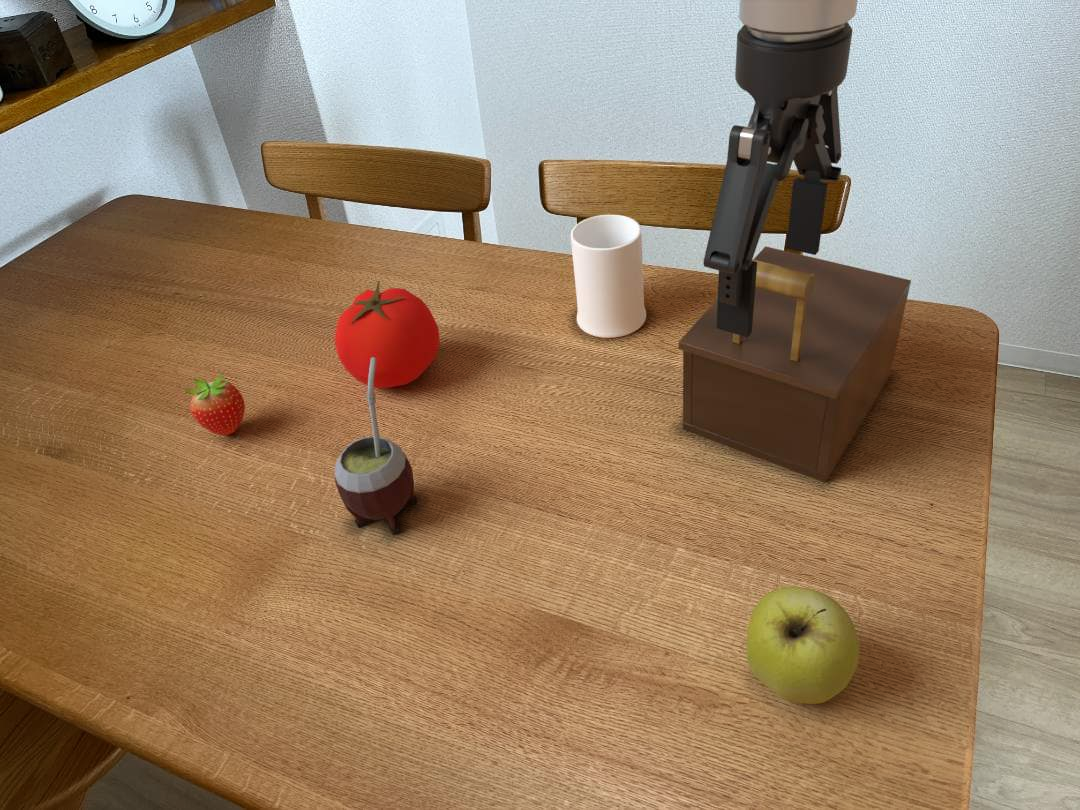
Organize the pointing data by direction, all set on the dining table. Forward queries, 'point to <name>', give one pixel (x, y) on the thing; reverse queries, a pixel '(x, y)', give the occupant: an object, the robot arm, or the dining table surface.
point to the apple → (802, 645)
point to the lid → (804, 322)
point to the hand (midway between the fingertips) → (770, 288)
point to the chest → (785, 407)
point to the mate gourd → (374, 474)
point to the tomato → (387, 337)
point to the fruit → (217, 406)
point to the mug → (608, 275)
